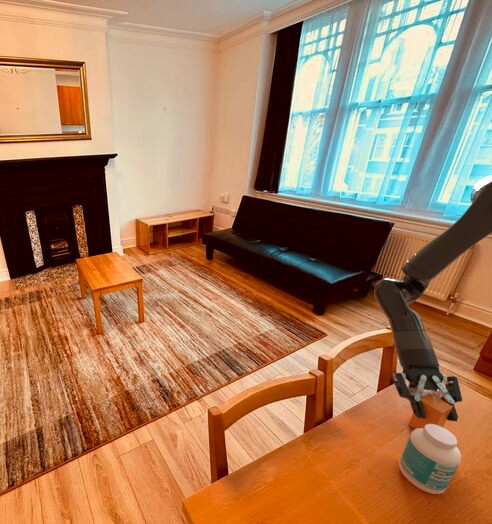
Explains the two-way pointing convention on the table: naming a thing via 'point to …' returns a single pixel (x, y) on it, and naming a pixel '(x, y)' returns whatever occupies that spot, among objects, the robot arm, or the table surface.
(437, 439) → the pill bottle
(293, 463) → the table surface
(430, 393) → the grey oval keychain
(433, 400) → the orange rectangular block
